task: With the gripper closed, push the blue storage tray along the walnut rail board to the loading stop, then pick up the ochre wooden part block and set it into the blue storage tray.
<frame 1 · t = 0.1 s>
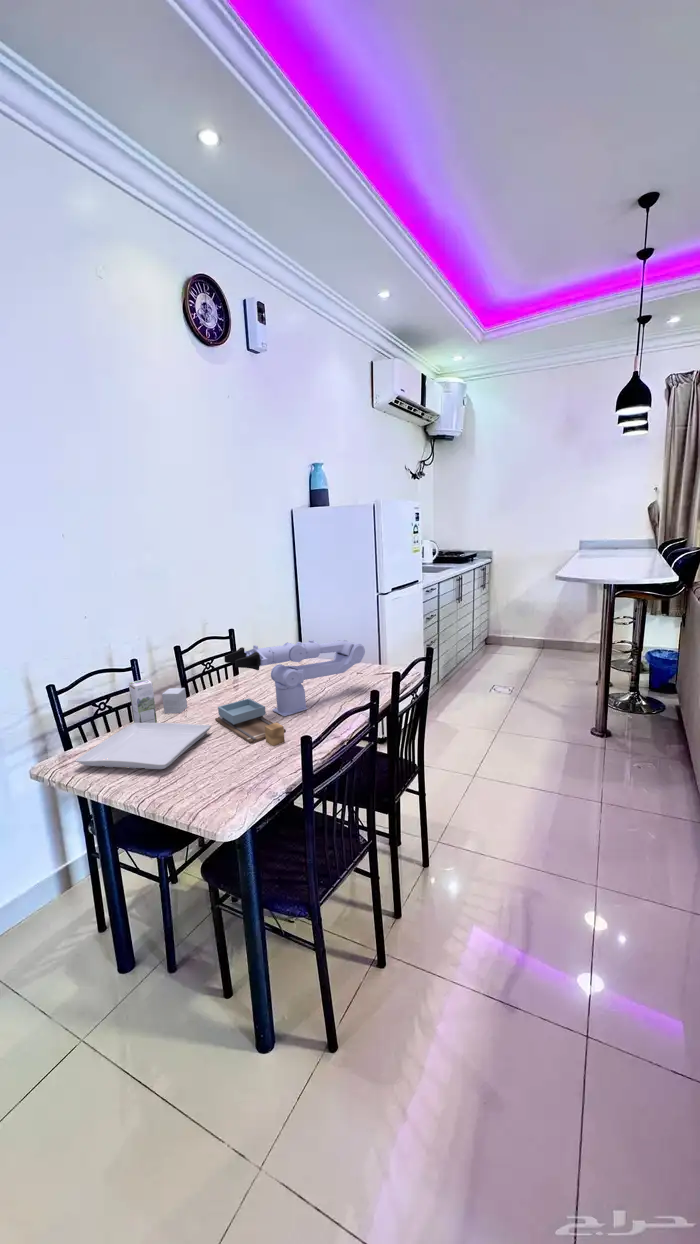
hand: (230, 661, 158), 22 cm above the table, tool horizontal, fingers open, 7 cm apart
blue storage tray: (241, 712, 165), point 3 cm above the table, slide at 0.0 cm
product box: (176, 710, 180), on the table
syrup box: (145, 724, 169), on the table
part block: (275, 742, 149), on the table
square plate: (149, 753, 148), on the table
rail board: (249, 726, 162), on the table
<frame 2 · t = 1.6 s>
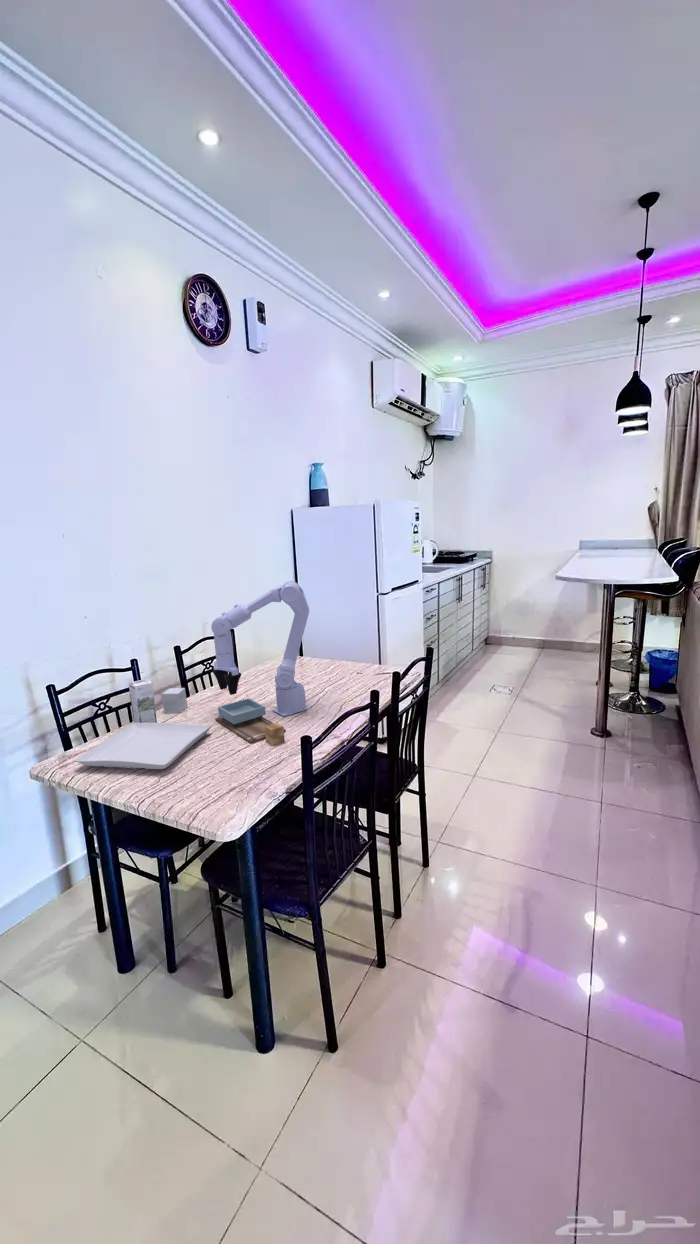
hand: (228, 691, 171), 8 cm above the table, tool pointing down, fingers open, 7 cm apart
nothing on the table moved.
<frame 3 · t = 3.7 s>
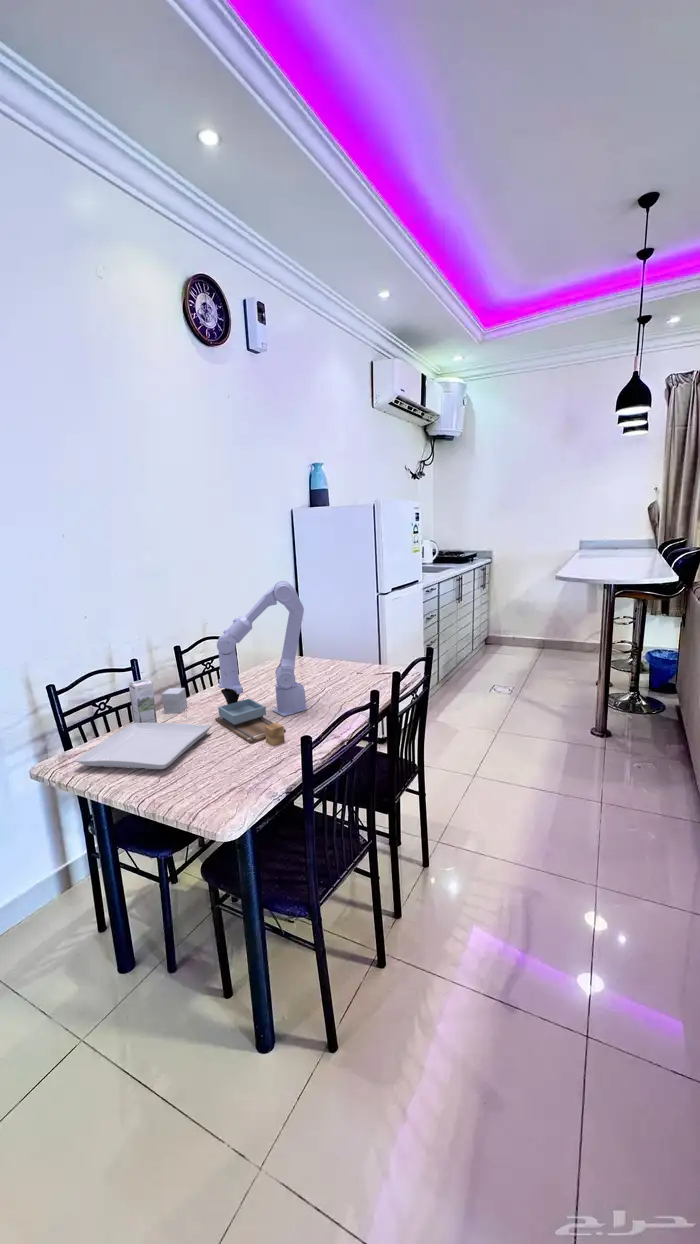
hand: (233, 709, 170), 3 cm above the table, tool pointing down, fingers closed
blue storage tray: (242, 712, 165), point 3 cm above the table, slide at 0.3 cm, touching gripper
everything else where it was.
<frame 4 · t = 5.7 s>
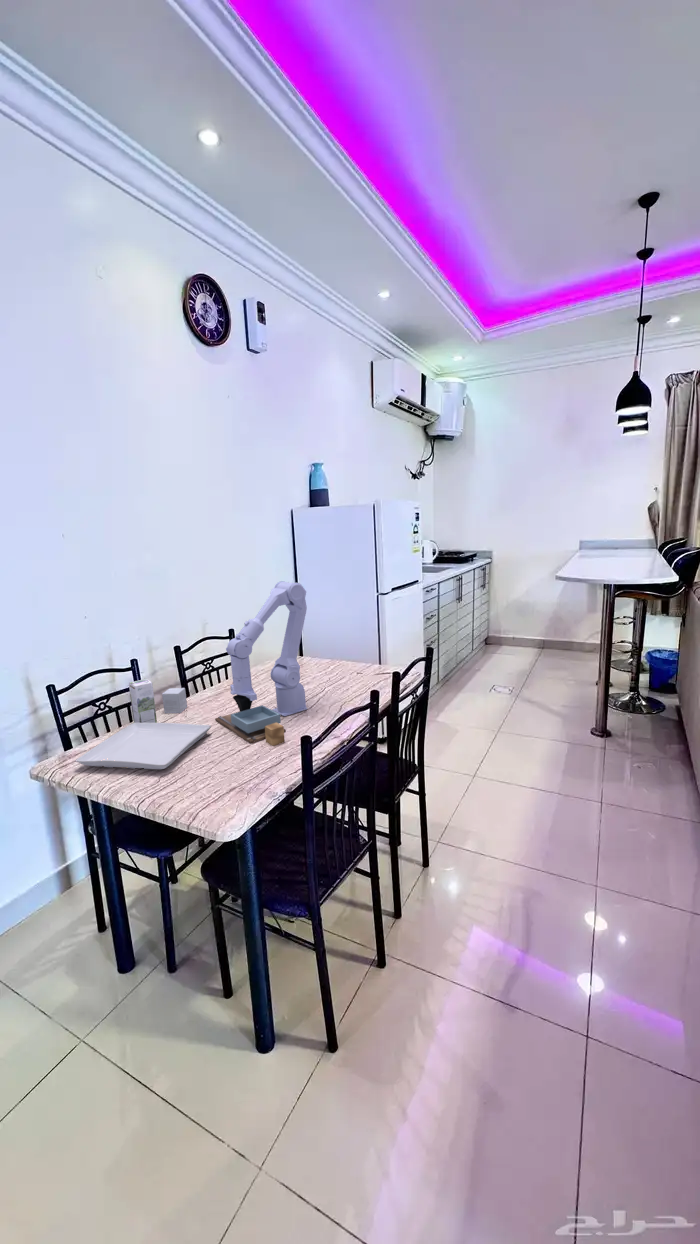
hand: (245, 716, 163), 3 cm above the table, tool pointing down, fingers closed
blue storage tray: (255, 720, 158), point 3 cm above the table, slide at 9.5 cm, touching gripper
everything else where it was.
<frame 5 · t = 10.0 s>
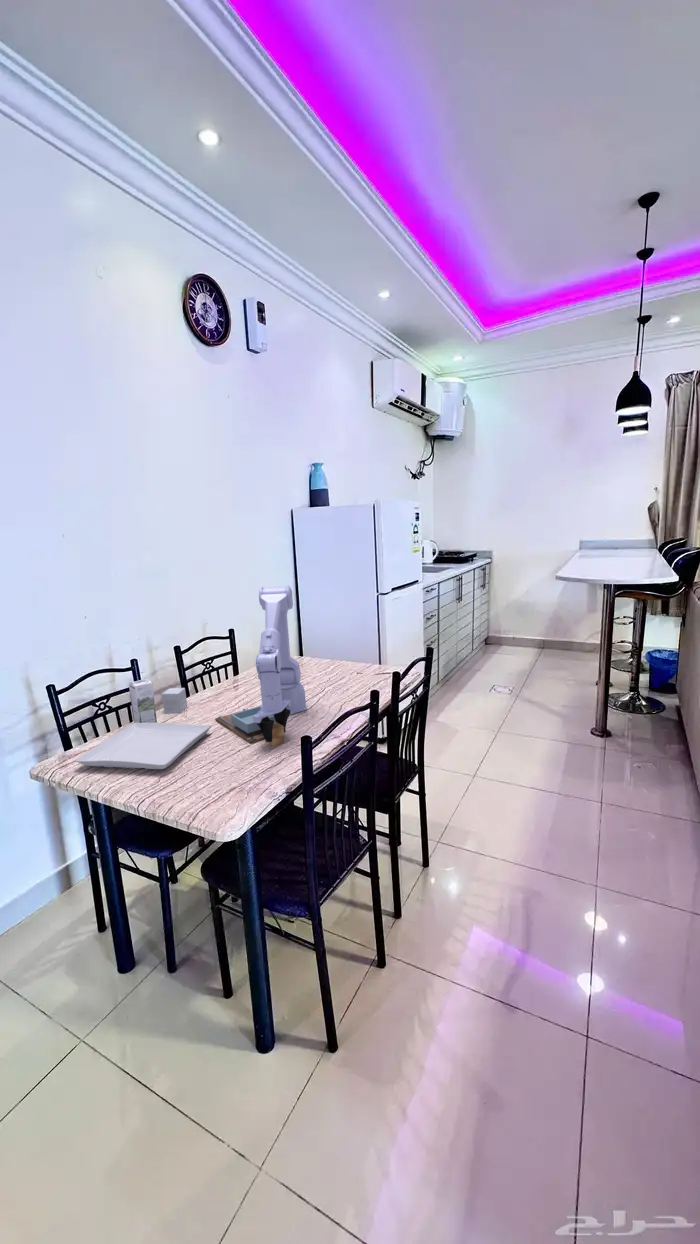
hand: (275, 737, 149), 1 cm above the table, tool pointing down, fingers closed on part block, 5 cm apart
blue storage tray: (255, 720, 158), point 3 cm above the table, slide at 9.5 cm
part block: (275, 742, 149), on the table, touching gripper
everything else where it was.
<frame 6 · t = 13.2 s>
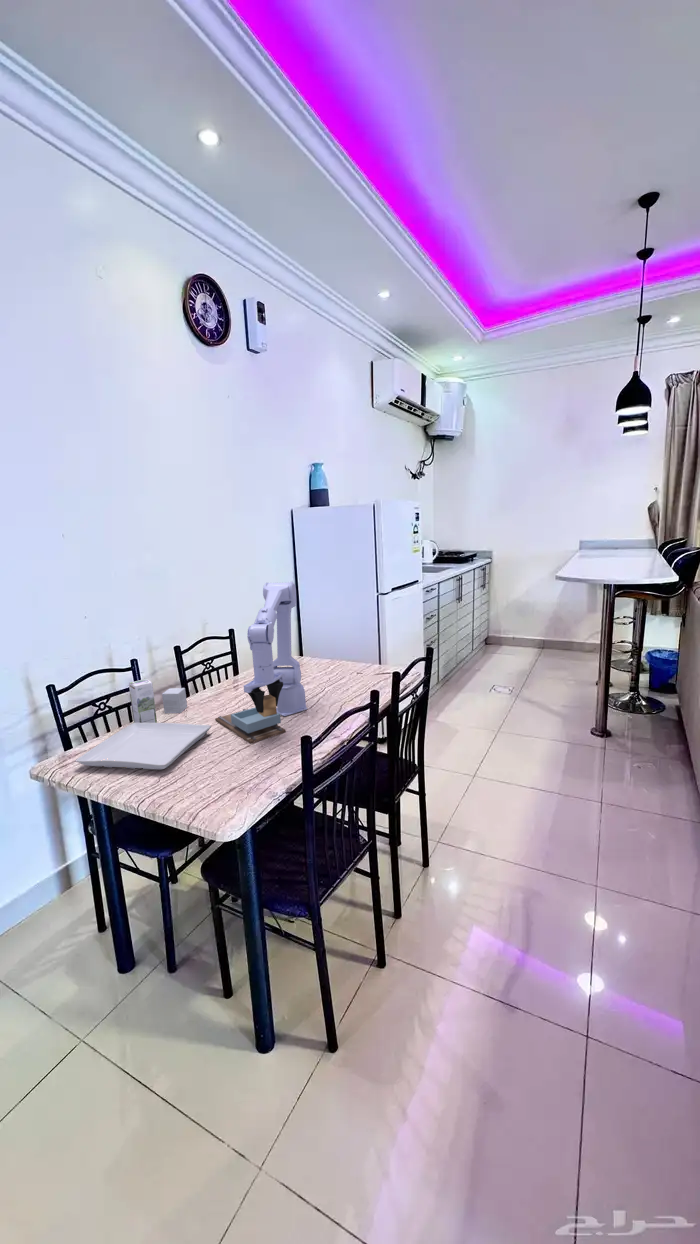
hand: (267, 708, 150), 9 cm above the table, tool pointing down, fingers closed on part block, 5 cm apart
part block: (267, 713, 150), point 8 cm above the table, touching gripper
everything else where it was.
when the fingers open (6 cm above the table, at t = 16.2 s): part block stays where it is, resting on blue storage tray.
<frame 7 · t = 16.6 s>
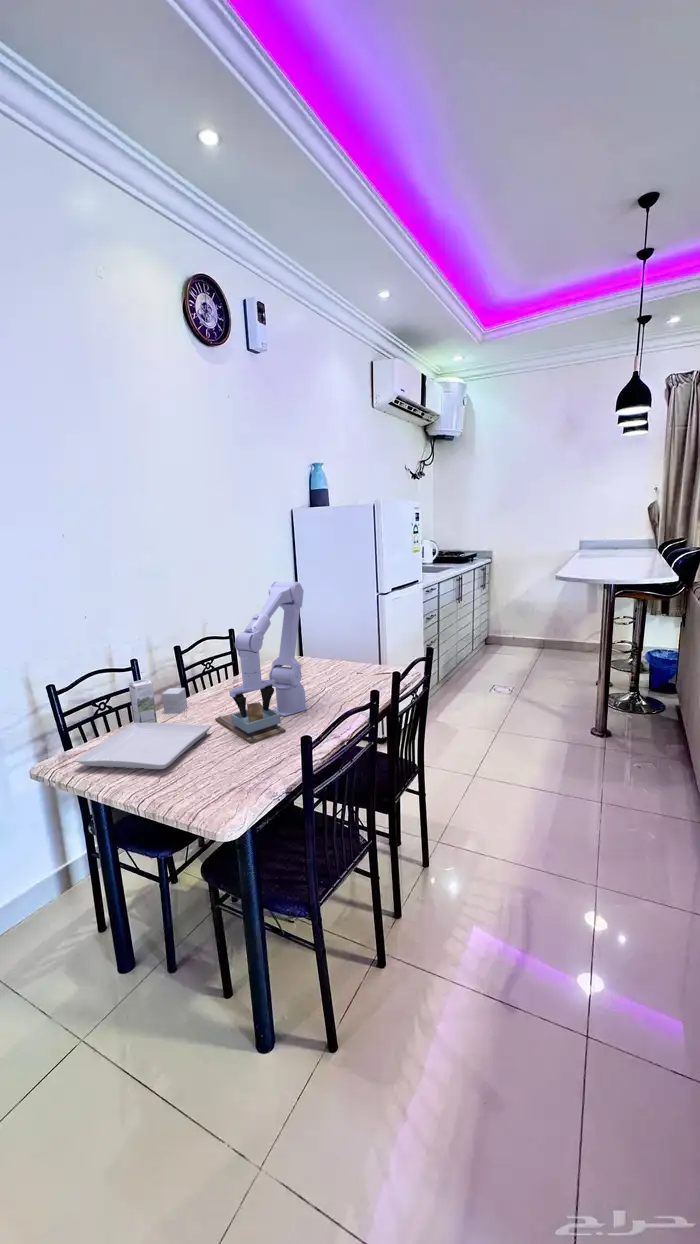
hand: (255, 713, 157), 6 cm above the table, tool pointing down, fingers open, 7 cm apart
blue storage tray: (255, 720, 158), point 3 cm above the table, slide at 9.5 cm, touching part block
part block: (255, 720, 158), point 3 cm above the table, touching blue storage tray
everything else where it was.
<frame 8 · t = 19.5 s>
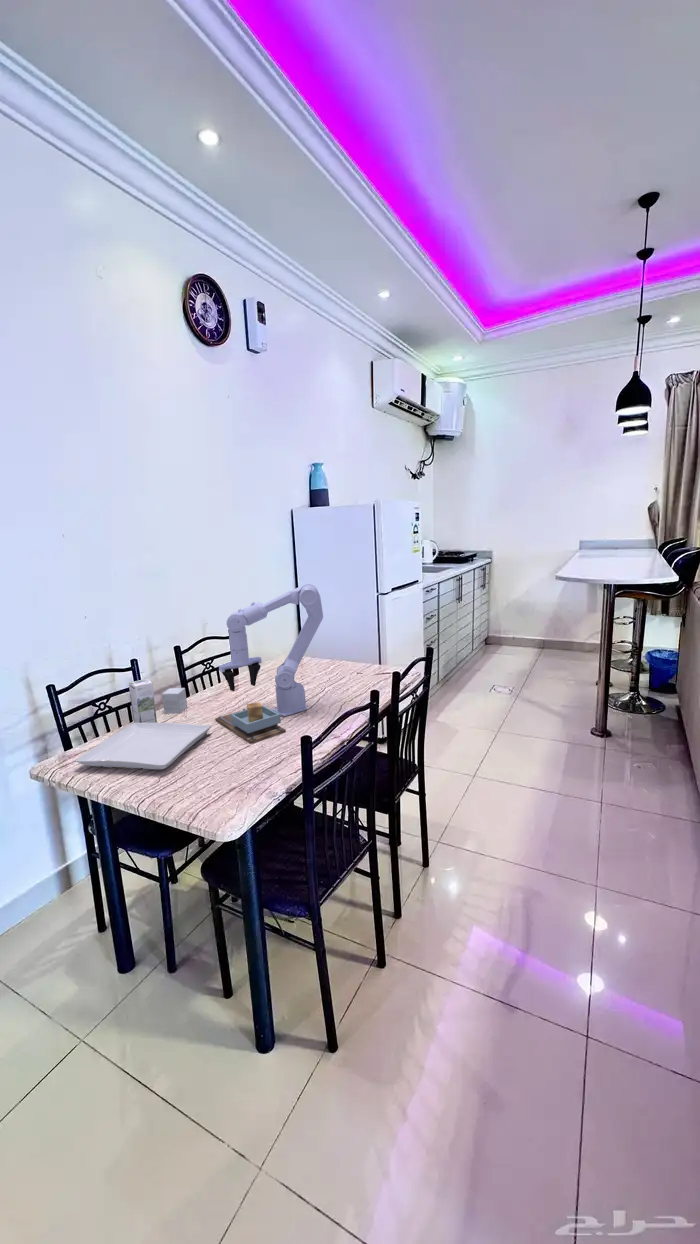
hand: (242, 687, 171), 9 cm above the table, tool pointing down, fingers open, 7 cm apart
nothing on the table moved.
at the end: blue storage tray slide at 9.5 cm; part block inside the target area (0.0 cm from its centre), point 3.4 cm above the table; part block tilted 0° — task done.
